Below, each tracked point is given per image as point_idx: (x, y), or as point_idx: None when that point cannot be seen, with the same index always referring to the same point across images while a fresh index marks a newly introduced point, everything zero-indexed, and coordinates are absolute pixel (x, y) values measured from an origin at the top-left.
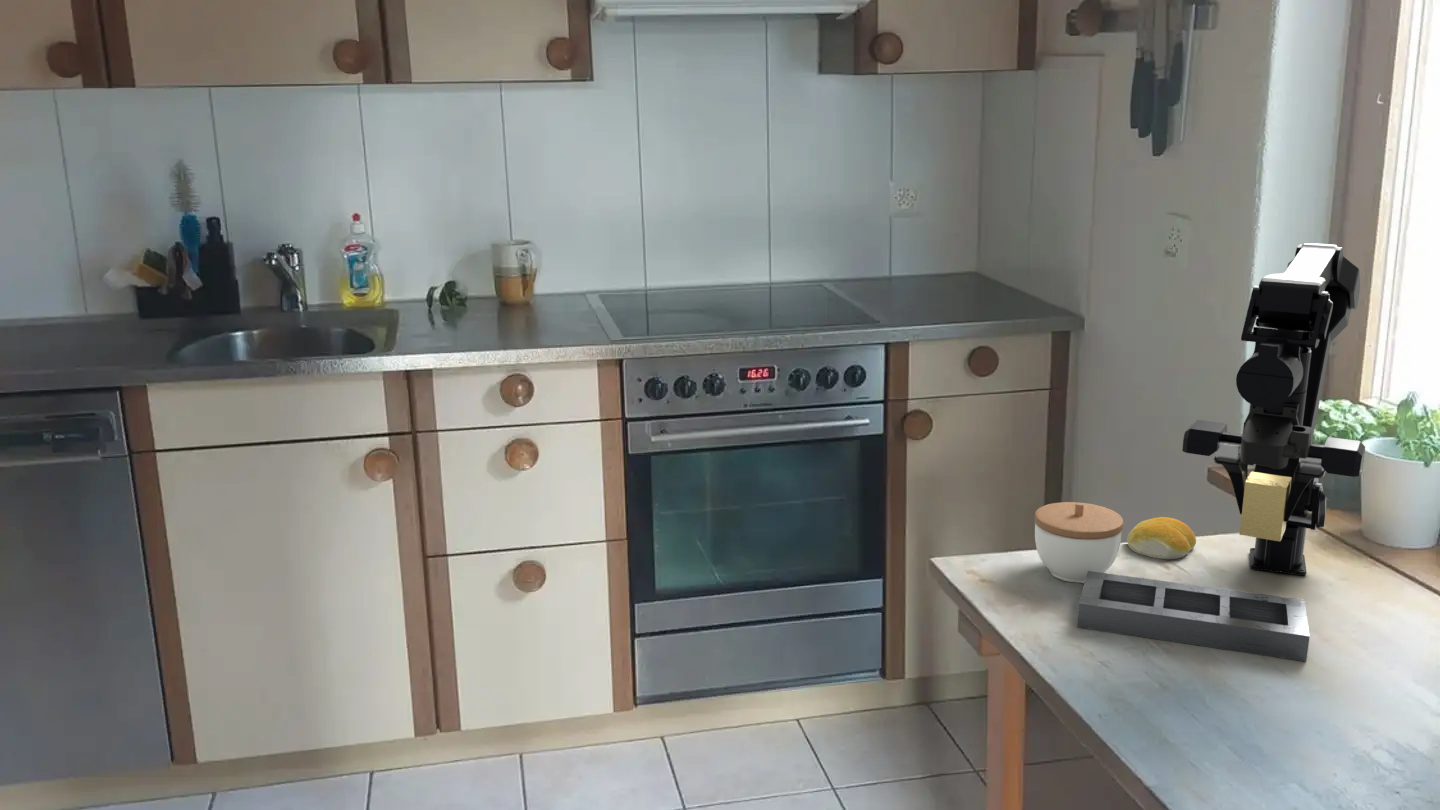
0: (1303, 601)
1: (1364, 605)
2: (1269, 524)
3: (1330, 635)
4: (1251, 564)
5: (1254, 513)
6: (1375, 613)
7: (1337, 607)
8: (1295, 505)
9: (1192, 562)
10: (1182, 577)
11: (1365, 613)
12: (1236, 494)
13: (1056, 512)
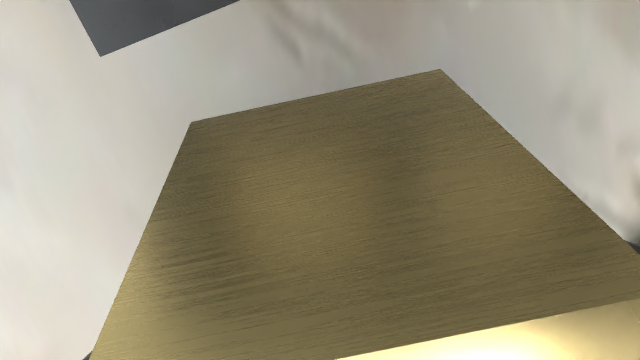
0: (93, 34)
1: (60, 304)
2: (262, 142)
3: (10, 8)
4: None
5: (392, 143)
6: (8, 271)
7: (108, 241)
8: (89, 355)
9: None
10: (580, 146)
11: (28, 253)
12: (638, 248)
13: None
